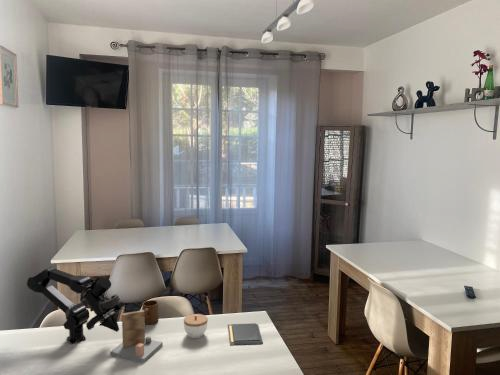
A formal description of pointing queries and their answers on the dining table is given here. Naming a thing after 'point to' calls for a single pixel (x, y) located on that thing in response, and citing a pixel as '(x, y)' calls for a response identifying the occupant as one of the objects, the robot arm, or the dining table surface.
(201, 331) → the lidded jar
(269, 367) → the dining table surface
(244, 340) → the grey book
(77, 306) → the robot arm
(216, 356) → the dining table surface
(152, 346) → the board
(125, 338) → the brown wooden panel
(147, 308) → the mug
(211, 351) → the dining table surface
